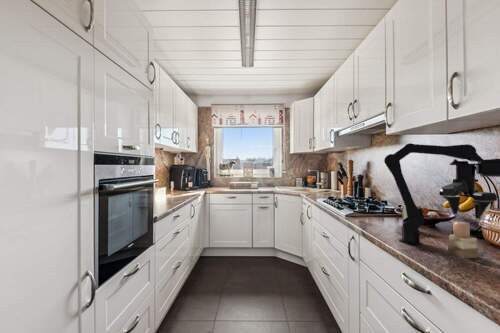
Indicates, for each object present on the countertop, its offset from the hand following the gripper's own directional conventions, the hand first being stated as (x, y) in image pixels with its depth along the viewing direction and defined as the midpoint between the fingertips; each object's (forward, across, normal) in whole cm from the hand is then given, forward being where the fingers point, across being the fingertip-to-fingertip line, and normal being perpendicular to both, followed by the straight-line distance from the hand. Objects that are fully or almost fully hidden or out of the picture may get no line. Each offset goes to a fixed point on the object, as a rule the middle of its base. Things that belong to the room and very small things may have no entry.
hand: (465, 216), depth 99 cm
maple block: (+10, +5, -7) cm, 13 cm away
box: (+13, -29, -1) cm, 32 cm away
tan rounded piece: (+6, +5, -7) cm, 11 cm away
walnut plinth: (+13, +5, -7) cm, 16 cm away
